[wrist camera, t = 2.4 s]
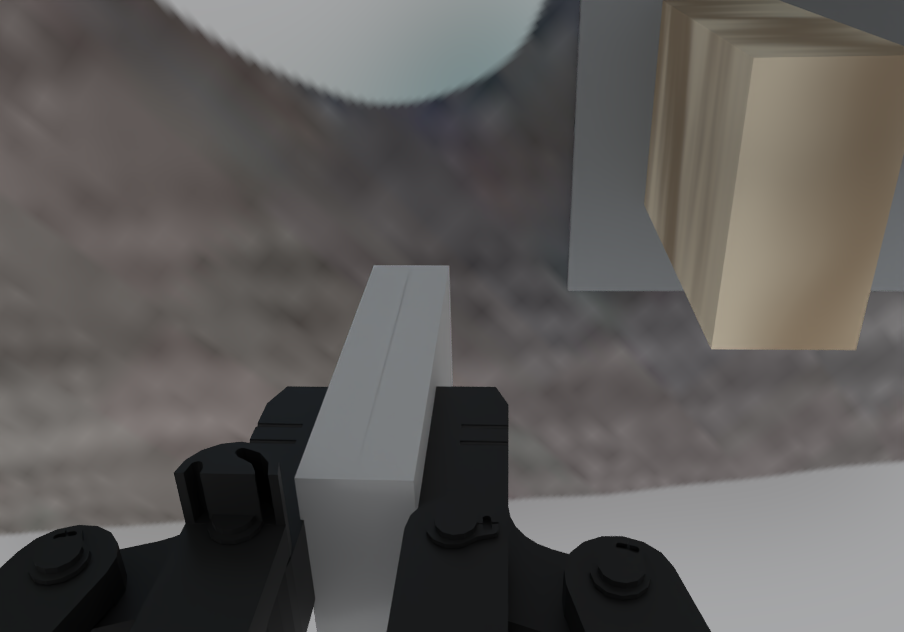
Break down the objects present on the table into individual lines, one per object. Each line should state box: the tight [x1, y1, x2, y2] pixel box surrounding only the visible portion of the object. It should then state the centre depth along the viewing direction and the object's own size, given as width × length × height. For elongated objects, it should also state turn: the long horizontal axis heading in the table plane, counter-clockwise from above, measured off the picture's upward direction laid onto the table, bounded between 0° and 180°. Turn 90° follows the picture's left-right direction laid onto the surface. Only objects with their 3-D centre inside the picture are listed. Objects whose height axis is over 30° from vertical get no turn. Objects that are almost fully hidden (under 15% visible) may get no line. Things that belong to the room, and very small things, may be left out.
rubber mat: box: [567, 0, 904, 291], centre depth 31 cm, size 20×16×1 cm
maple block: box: [644, 0, 904, 350], centre depth 26 cm, size 4×8×12 cm, turn 1°
